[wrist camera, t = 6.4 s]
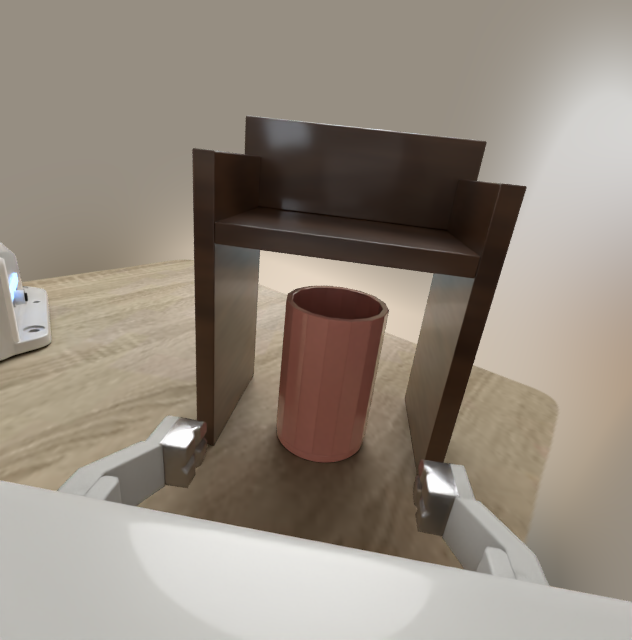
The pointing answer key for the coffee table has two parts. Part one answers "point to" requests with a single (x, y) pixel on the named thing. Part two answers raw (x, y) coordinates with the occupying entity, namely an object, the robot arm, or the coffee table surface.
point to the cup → (328, 370)
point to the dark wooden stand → (349, 248)
